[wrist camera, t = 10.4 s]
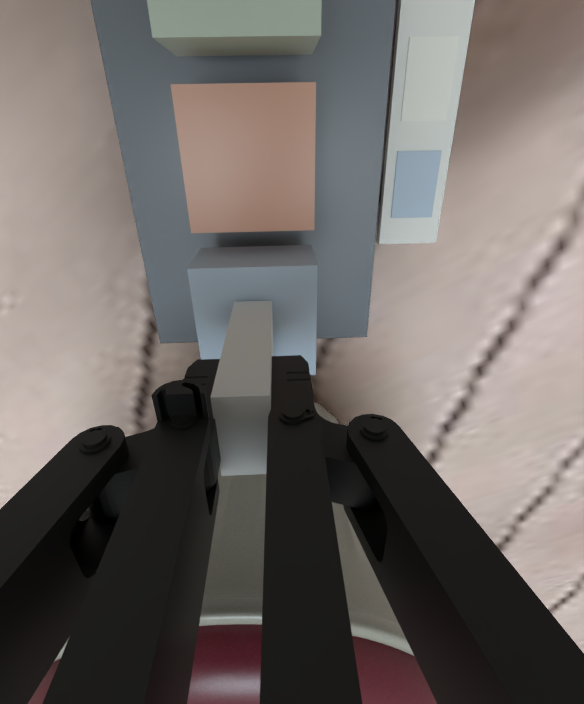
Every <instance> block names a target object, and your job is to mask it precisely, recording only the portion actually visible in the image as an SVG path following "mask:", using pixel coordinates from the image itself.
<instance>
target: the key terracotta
mask: <svg viewBox="0 0 584 704" xmlns="http://www.w3.org/2000/svg"><path fill="white" fill-rule="evenodd" d="M170 85H171V92H172V99H173V107H174V114H175V121H176V128H177V135H178V143H179V150H180V157H181V164H182V171H183V179H184V186H185V193H186V200H187V207H188V215H189V222H190V229H191V233H221V232H262V231H303V230H314V216H315V127H316V82H283V83H219V84H170Z"/></svg>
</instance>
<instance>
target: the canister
mask: <svg viewBox="0 0 584 704" xmlns="http://www.w3.org/2000/svg"><path fill="white" fill-rule="evenodd" d="M314 406H315V409H316V411H317V413H318V414H319V415H320V416H321V417H322V418H324V419H325V420H328V421H330V422H332V423H336V424H339V423H338V421H337V420H336V418H335V417H334V416H333V415H332V414H331V413H329V412H327V411H326V410H325V409H324V407H323V406H322V405H320V404H318V403H315V402H314ZM218 481H219V490H220V492H219V498H218V505H217V512H216V518H215V525H214V531H213V538H212V544H211V551H210V557H209V564H208V570H207V577H206V583H205V590H204V597H203V603H202V610H201V616H200V623H199V629H198V636H197V642H196V649H195V655H194V662H193V668H192V675H191V682H190V688H189V695H188V701H187V704H260V674H261V640H262V606H263V572H264V538H265V504H266V474H257V475H232V476H222V475H221V468H220V467H219V473H218ZM332 507H333V513H334V520H335V526H336V533H337V539H338V546H339V553H340V559H341V566H342V572H343V579H344V585H345V592H346V599H347V605H348V612H349V618H350V625H351V631H352V638H353V645H354V651H355V658H356V664H357V671H358V677H359V684H360V691H361V697H362V704H437V702H436V700H435V698H434V696H433V694H432V692H431V690H430V687H429V685H428V683H427V681H426V679H425V677H424V675H423V673H422V671H421V669H420V667H419V665H418V662H417V660H416V658H415V656H414V654H413V652H412V650H411V648H410V646H409V644H408V642H407V640H406V637H405V635H404V633H403V631H402V629H401V627H400V625H399V623H398V621H397V619H396V617H395V615H394V613H393V610H392V608H391V606H390V604H389V602H388V600H387V598H386V596H385V594H384V592H383V590H382V588H381V585H380V583H379V581H378V579H377V577H376V575H375V573H374V571H373V569H372V567H371V565H370V563H369V560H368V558H367V556H366V554H365V552H364V550H363V548H362V546H361V544H360V542H359V540H358V538H357V535H356V533H355V531H354V529H353V527H352V525H351V523H350V521H349V519H348V517H347V515H346V513H345V511H344V507H343V505H342V504H338V503H333V502H332ZM68 640H69V638H68ZM68 640H67V641H66V643H65V645H64V646H63V648H62V649H61V651H60V653H59V654H58V656H57V658H56V659H55V661H54V662H53V664H52V666H51V667H50V669H49V670H48V672H47V674H46V675H45V677H44V678H43V680H42V682H41V683H40V685H39V686H38V688H37V690H36V691H35V693H34V694H33V696H32V698H31V699H30V701H29V702H28V704H42V703H43V701H44V698H45V696H46V694H47V691H48V689H49V686H50V684H51V681H52V679H53V676H54V674H55V671H56V669H57V667H58V664H59V662H60V659H61V657H62V654H63V652H64V649H65V647H66V645H67V642H68Z"/></svg>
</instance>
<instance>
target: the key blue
mask: <svg viewBox="0 0 584 704" xmlns="http://www.w3.org/2000/svg"><path fill="white" fill-rule="evenodd" d="M187 271H188V278H189V285H190V291H191V298H192V305H193V311H194V318H195V325H196V331H197V338H198V345H199V351H200V358H201V360H203V359H220V357H221V353H222V349H223V345H224V341H225V337H226V333H227V329H228V325H229V321H230V317H231V313H232V309H233V304H234V302H238V301H272V317H273V340H274V356H292V355H301V356H302V357H303V358H304V359H305V360H306V361H307V362H308V365H309V373H310V375H316V328H317V262H316V259H315V256H314V253H313V250H312V246H311V245H287V246H247V247H208V248H201V249H200V250H199V252H198V253H197V255H196V256H195V258H194V259H193V261H192V262H191V264H190V265H189V267H188V268H187Z"/></svg>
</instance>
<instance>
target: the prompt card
mask: <svg viewBox="0 0 584 704" xmlns="http://www.w3.org/2000/svg"><path fill="white" fill-rule="evenodd" d="M474 4H475V0H398V11H397V22H396V33H395V44H394V56H393V67H392V78H391V90H390V101H389V112H388V124H387V135H386V146H385V157H384V169H383V180H382V191H381V203H380V214H379V225H378V237H377V243H378V244H408V243H436V240H437V233H438V227H439V221H440V215H441V209H442V202H443V196H444V190H445V184H446V178H447V171H448V165H449V159H450V153H451V147H452V140H453V134H454V128H455V122H456V115H457V109H458V103H459V97H460V91H461V84H462V78H463V72H464V66H465V60H466V53H467V47H468V41H469V35H470V29H471V22H472V16H473V10H474Z"/></svg>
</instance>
